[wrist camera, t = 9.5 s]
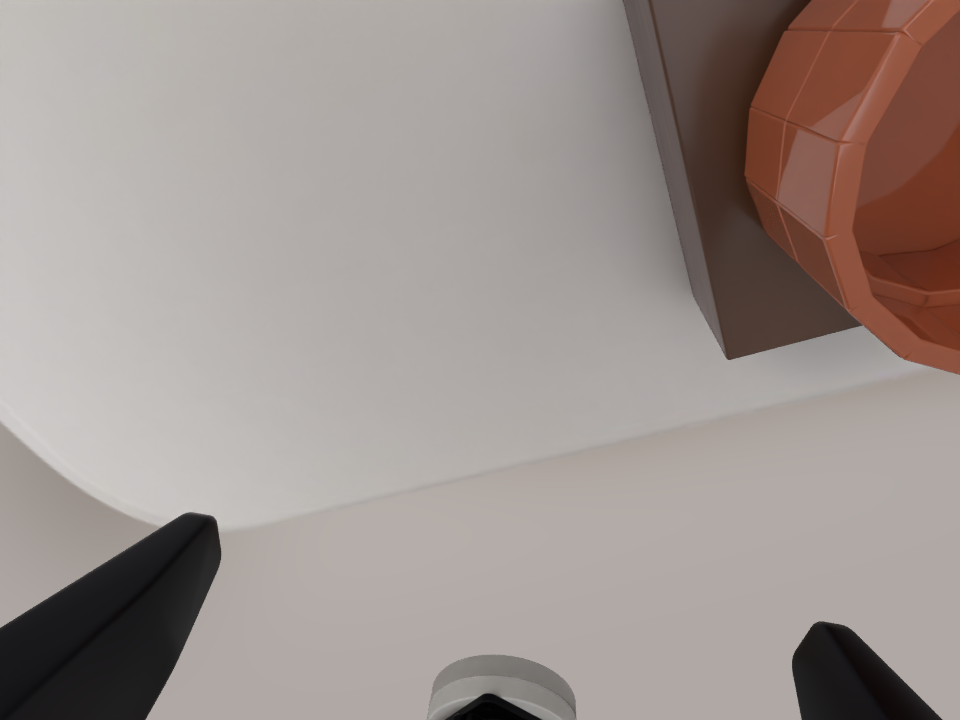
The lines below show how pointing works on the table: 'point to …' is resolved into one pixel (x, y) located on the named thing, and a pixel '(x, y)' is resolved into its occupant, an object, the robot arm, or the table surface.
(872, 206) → the small bowl
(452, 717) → the robot arm
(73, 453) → the table surface
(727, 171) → the walnut block
